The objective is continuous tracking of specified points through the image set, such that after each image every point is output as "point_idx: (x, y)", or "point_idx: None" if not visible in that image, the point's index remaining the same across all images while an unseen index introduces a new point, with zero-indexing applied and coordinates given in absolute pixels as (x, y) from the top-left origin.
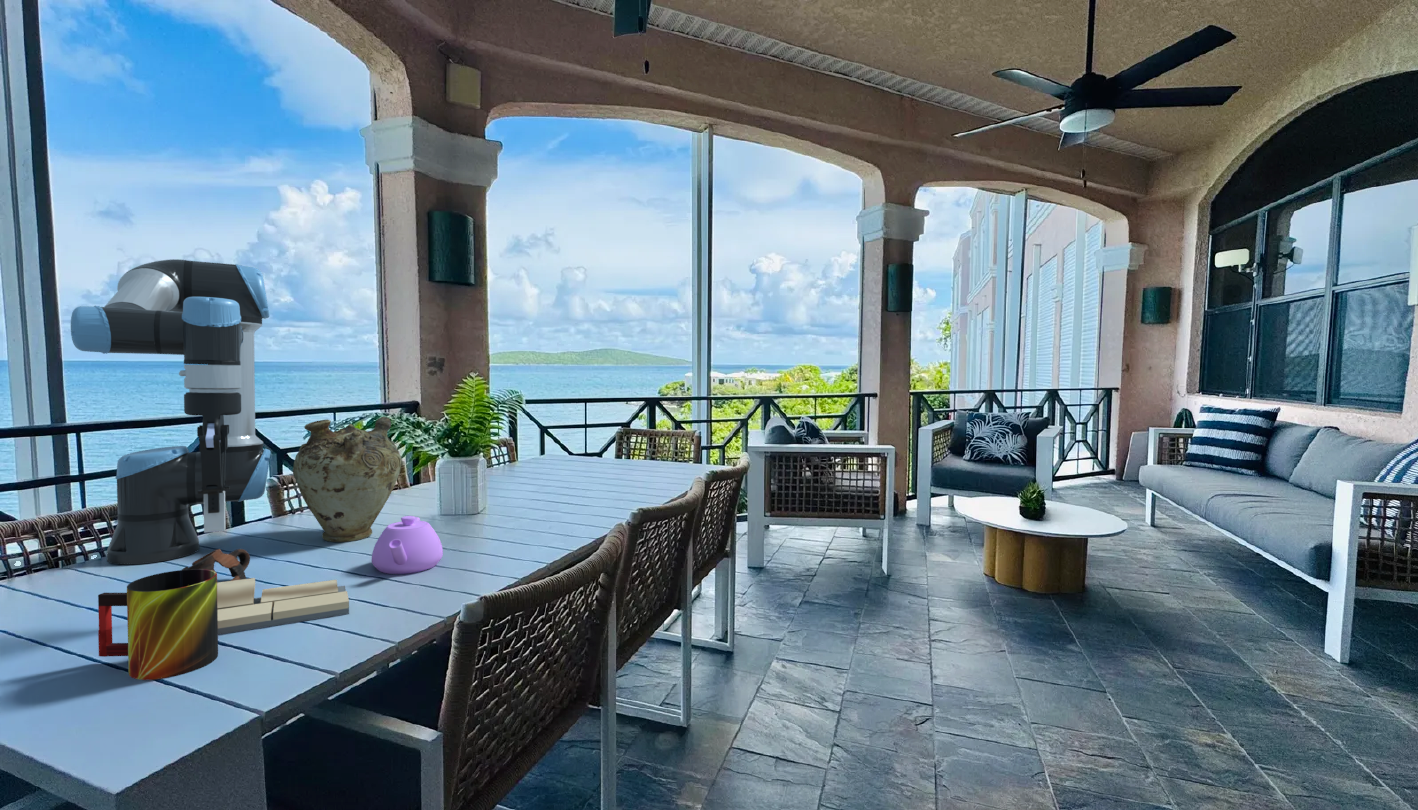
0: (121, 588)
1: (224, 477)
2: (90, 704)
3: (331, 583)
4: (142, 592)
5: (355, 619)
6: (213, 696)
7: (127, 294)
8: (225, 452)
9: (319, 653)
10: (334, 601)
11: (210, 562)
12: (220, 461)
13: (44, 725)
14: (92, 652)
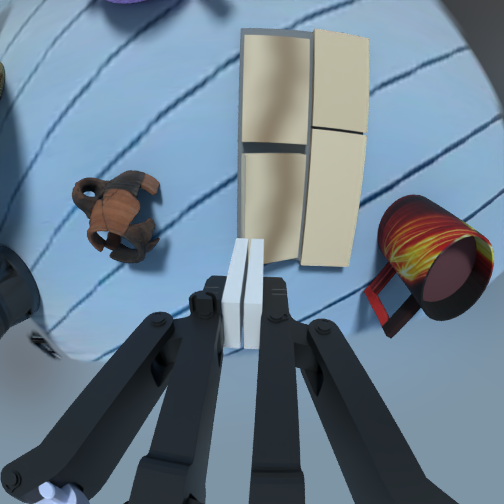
0: (106, 300)
1: (163, 334)
2: None
3: (262, 42)
4: (475, 300)
5: (387, 44)
6: (488, 202)
7: None
8: (74, 411)
9: (464, 110)
10: (360, 53)
11: (135, 230)
12: (382, 425)
13: None
14: (326, 299)
